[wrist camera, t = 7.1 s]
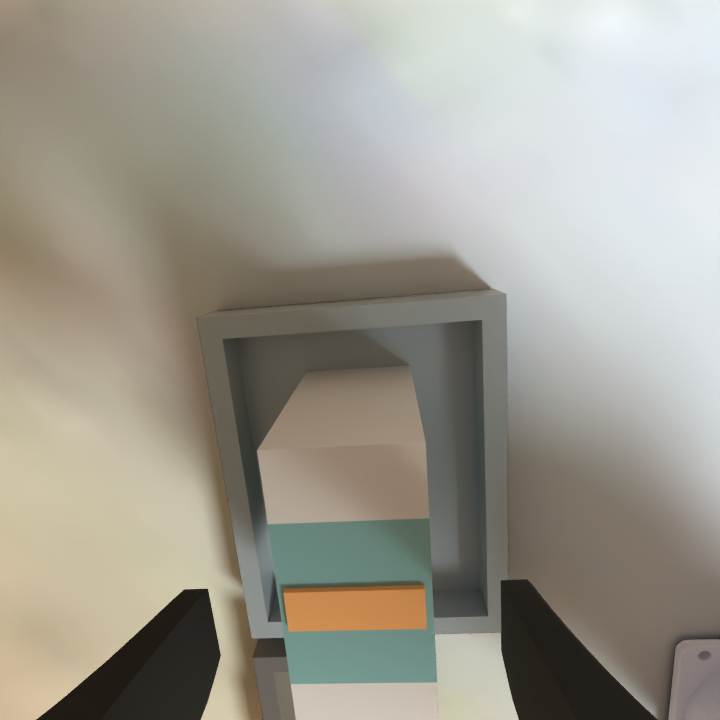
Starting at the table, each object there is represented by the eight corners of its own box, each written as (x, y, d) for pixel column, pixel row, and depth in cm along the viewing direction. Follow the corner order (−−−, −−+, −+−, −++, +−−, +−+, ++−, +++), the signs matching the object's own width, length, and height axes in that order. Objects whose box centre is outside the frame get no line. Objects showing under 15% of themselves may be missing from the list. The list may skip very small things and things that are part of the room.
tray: (492, 288, 17) (506, 294, 15) (496, 595, 20) (508, 632, 18) (217, 310, 18) (196, 318, 16) (263, 602, 21) (251, 638, 19)
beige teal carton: (409, 365, 17) (426, 445, 10) (420, 567, 19) (440, 745, 12) (306, 371, 18) (255, 453, 11) (328, 569, 20) (297, 745, 13)
